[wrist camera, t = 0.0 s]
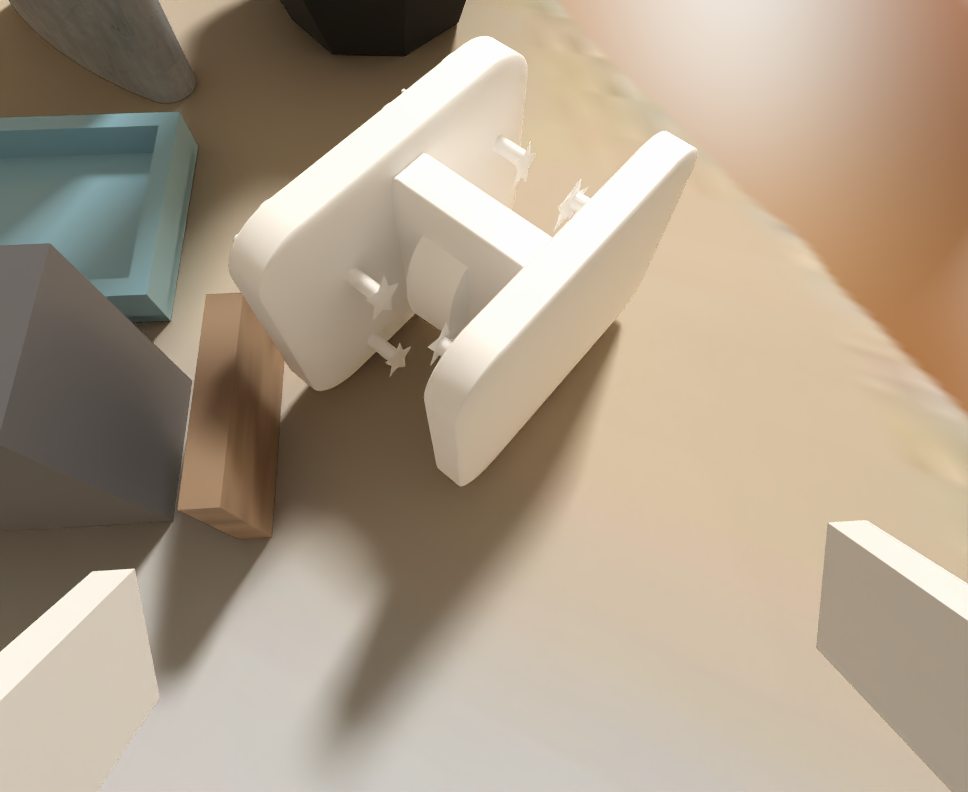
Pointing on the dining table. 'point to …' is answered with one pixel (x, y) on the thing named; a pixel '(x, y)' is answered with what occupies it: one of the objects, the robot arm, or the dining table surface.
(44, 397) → the grey rectangular block
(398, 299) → the cable organizer
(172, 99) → the hip flask
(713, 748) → the dining table surface
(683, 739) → the dining table surface
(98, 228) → the teal tray
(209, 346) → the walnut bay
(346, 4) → the bottle
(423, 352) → the dining table surface
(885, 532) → the robot arm
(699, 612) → the dining table surface
